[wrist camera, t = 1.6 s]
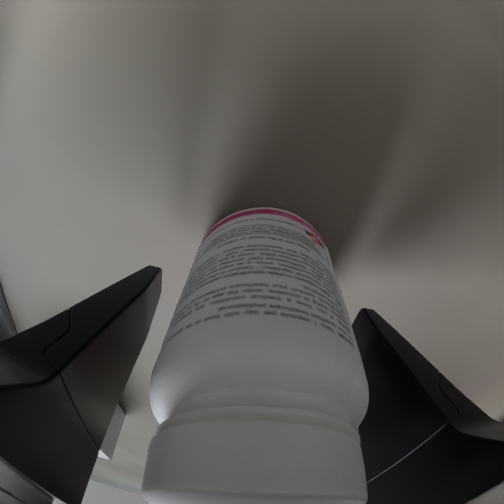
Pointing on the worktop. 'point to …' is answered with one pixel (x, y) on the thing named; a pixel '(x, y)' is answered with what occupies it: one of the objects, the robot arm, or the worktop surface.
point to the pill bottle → (258, 374)
